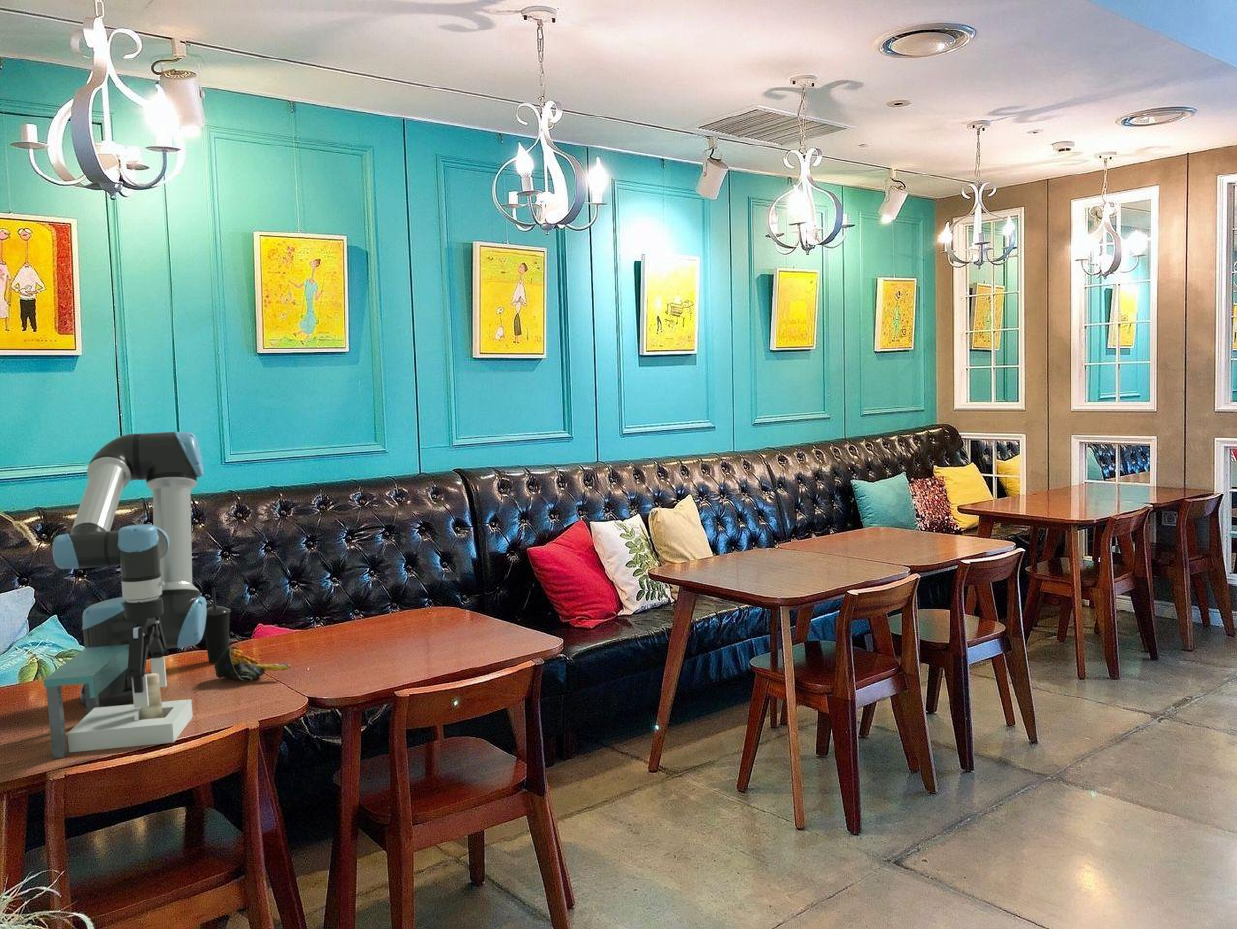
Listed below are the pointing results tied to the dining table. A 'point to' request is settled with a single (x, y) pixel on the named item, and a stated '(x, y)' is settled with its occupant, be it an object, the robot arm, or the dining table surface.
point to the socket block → (129, 727)
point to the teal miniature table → (88, 669)
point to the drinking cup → (216, 630)
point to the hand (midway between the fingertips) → (150, 696)
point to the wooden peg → (153, 698)
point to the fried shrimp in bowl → (242, 666)
